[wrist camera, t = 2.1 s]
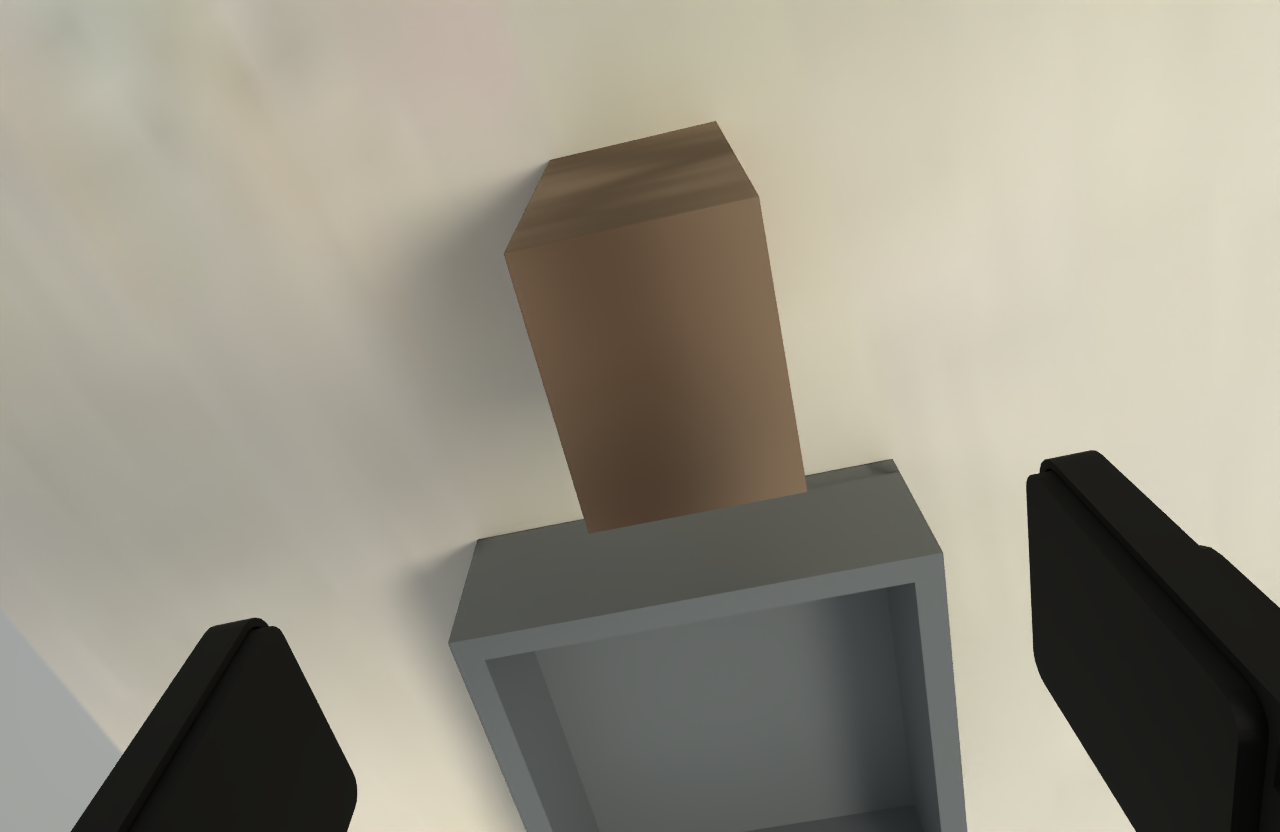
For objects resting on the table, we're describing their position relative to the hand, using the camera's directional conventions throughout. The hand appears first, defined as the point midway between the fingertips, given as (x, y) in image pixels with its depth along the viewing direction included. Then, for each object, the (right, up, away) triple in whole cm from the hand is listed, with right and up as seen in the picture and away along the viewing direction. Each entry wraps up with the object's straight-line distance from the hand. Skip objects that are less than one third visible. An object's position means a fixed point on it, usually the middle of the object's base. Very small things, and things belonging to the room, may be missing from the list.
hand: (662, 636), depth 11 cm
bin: (+3, -7, +21) cm, 22 cm away
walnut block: (0, +7, +14) cm, 15 cm away
